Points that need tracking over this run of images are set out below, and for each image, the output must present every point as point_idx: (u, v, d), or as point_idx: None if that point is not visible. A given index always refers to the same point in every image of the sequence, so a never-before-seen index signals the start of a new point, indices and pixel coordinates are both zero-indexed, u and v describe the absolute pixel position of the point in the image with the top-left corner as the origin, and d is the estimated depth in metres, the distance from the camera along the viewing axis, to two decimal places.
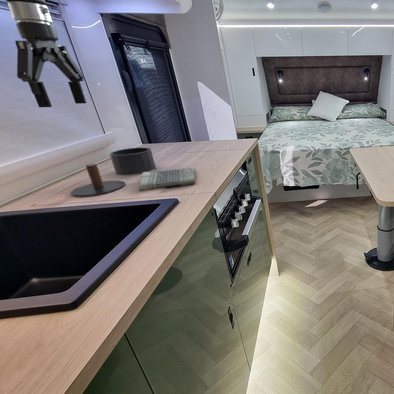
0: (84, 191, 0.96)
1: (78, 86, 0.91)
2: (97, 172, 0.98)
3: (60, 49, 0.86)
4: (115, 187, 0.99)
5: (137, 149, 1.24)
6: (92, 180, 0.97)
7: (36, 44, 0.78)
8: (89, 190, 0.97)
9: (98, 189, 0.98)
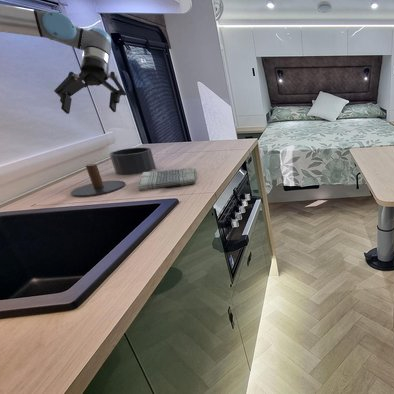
0: (84, 191, 0.96)
1: (70, 101, 1.01)
2: (97, 172, 0.98)
3: None
4: (115, 187, 0.99)
5: (137, 149, 1.24)
6: (92, 180, 0.97)
7: None
8: (89, 190, 0.97)
9: (98, 189, 0.98)
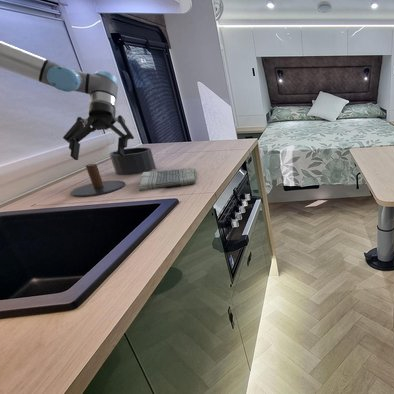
0: (84, 191, 0.96)
1: (79, 147, 1.02)
2: (97, 172, 0.98)
3: None
4: (115, 187, 0.99)
5: (137, 149, 1.24)
6: (92, 180, 0.97)
7: None
8: (89, 190, 0.97)
9: (98, 189, 0.98)
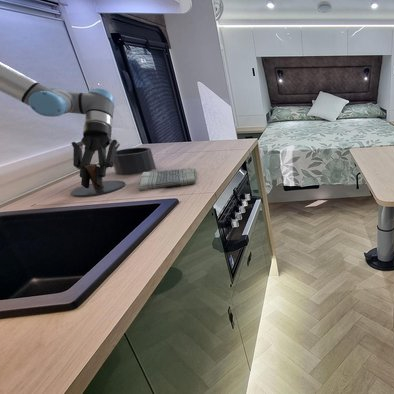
0: (84, 191, 0.96)
1: None
2: None
3: None
4: (115, 187, 0.99)
5: (137, 149, 1.24)
6: (92, 180, 0.97)
7: None
8: (89, 190, 0.97)
9: (98, 189, 0.98)
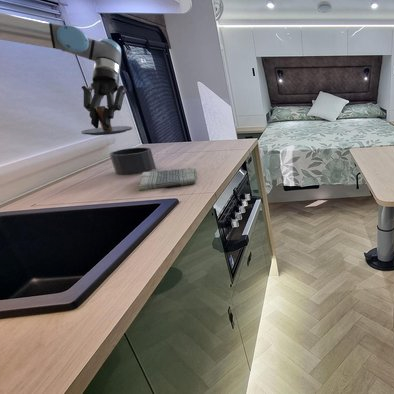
0: (93, 131, 1.02)
1: None
2: None
3: None
4: (122, 129, 1.05)
5: (137, 149, 1.24)
6: (101, 121, 1.03)
7: None
8: (98, 130, 1.03)
9: (107, 130, 1.03)
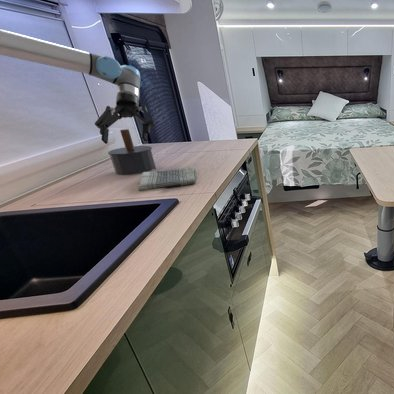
0: (119, 152, 1.14)
1: (108, 132, 1.15)
2: (129, 136, 1.16)
3: None
4: (144, 149, 1.18)
5: None
6: (125, 143, 1.15)
7: None
8: (123, 151, 1.15)
9: (130, 150, 1.16)
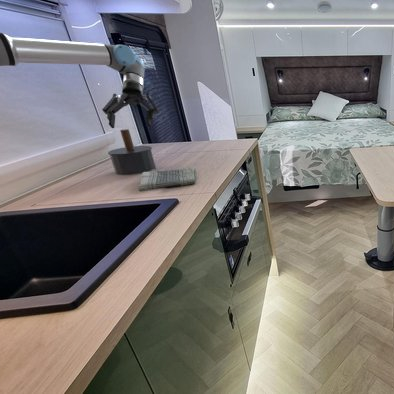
0: (119, 152, 1.14)
1: (114, 118, 1.24)
2: (129, 136, 1.16)
3: None
4: (144, 149, 1.18)
5: None
6: (125, 143, 1.15)
7: None
8: (123, 151, 1.15)
9: (130, 150, 1.16)
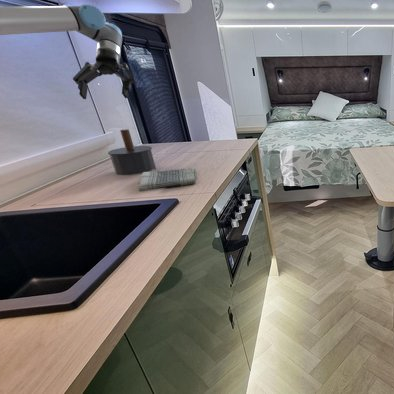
0: (119, 152, 1.14)
1: (87, 88, 1.12)
2: (129, 136, 1.16)
3: None
4: (144, 149, 1.18)
5: None
6: (125, 143, 1.15)
7: None
8: (123, 151, 1.15)
9: (130, 150, 1.16)
